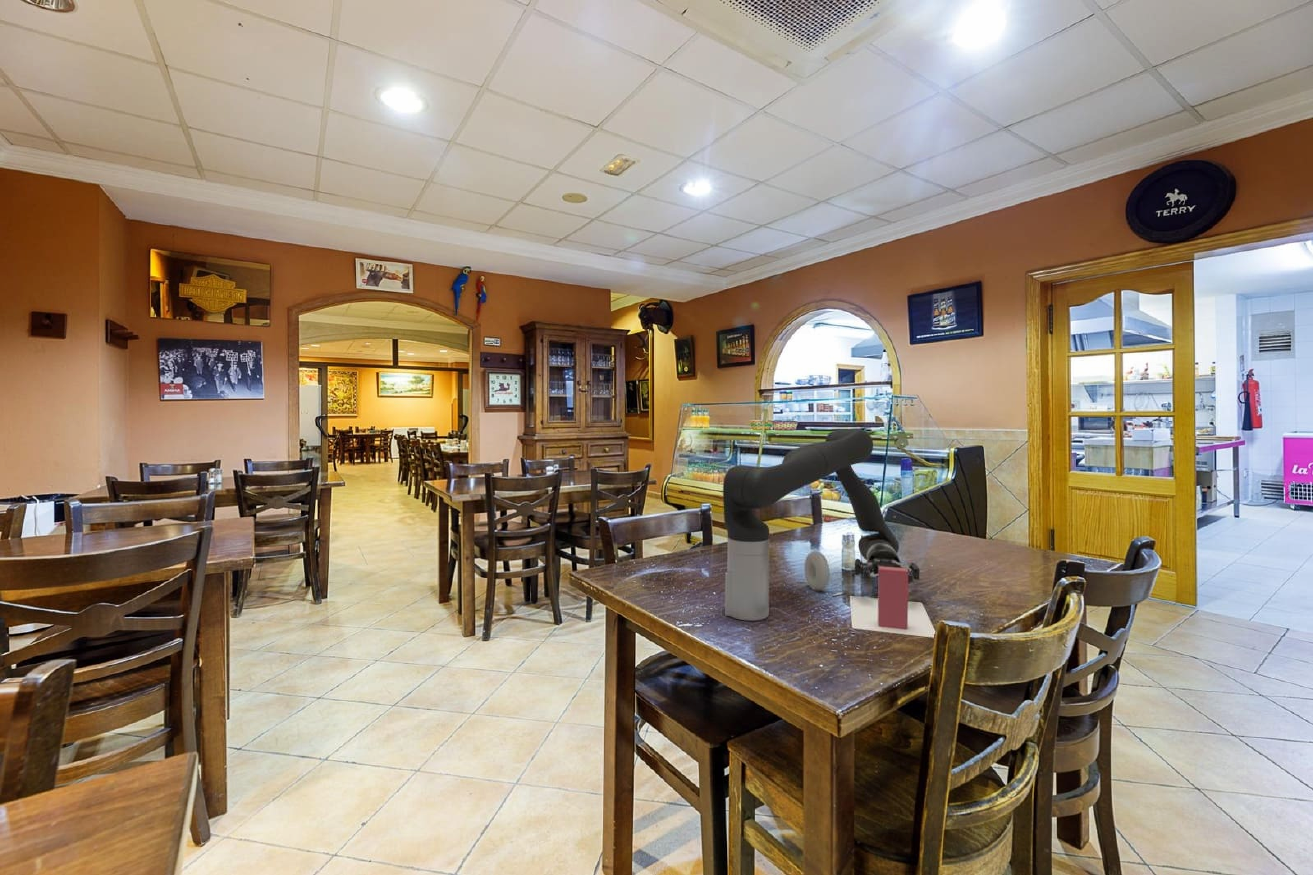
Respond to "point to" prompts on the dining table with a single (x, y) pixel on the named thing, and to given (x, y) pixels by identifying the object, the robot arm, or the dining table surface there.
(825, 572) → the donut
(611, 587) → the dining table surface
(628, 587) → the dining table surface
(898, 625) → the card case
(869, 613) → the mat
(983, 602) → the dining table surface
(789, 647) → the dining table surface
